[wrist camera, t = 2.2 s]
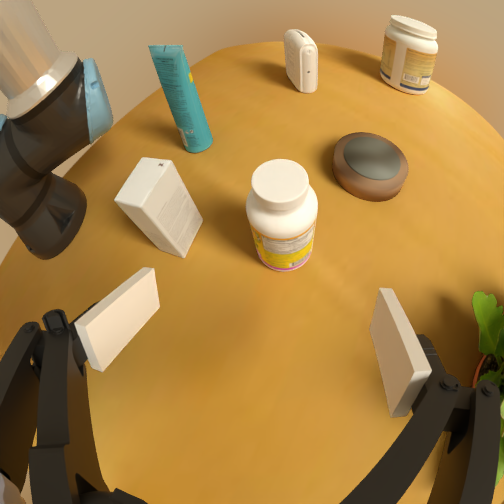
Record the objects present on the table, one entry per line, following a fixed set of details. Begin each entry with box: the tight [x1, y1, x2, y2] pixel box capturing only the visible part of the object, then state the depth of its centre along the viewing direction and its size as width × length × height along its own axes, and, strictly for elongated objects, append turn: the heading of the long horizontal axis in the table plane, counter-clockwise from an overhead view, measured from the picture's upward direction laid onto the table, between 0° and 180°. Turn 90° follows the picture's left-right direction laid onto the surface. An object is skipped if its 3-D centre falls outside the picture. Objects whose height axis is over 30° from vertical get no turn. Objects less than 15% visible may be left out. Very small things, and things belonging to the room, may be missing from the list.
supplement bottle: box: [246, 159, 318, 271], centre depth 27 cm, size 7×7×13 cm
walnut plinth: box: [332, 132, 408, 202], centre depth 35 cm, size 11×11×3 cm
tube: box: [149, 45, 213, 153], centre depth 35 cm, size 7×5×19 cm, turn 59°
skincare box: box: [114, 157, 203, 258], centre depth 30 cm, size 6×4×12 cm
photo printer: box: [284, 29, 318, 93], centre depth 43 cm, size 10×4×12 cm, turn 13°
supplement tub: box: [380, 15, 438, 95], centre depth 40 cm, size 12×12×17 cm
